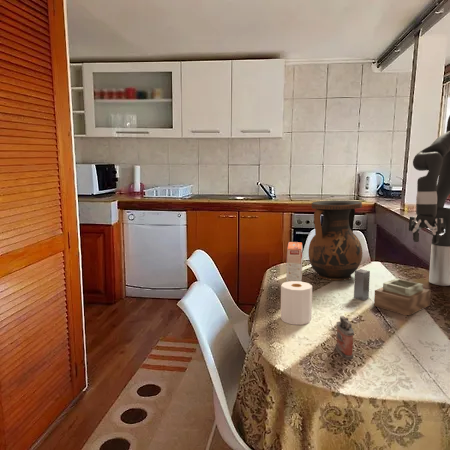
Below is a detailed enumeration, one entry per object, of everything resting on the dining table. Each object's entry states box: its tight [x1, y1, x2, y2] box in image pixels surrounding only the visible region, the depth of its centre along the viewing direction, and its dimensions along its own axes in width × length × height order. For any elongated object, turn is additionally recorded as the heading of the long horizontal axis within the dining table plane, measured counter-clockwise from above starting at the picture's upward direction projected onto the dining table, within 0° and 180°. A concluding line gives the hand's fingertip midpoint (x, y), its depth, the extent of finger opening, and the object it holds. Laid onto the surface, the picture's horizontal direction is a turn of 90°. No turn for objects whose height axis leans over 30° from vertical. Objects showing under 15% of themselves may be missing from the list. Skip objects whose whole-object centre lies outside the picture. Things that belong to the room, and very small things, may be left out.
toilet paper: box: [280, 281, 313, 326], centre depth 137 cm, size 10×10×12 cm
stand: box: [373, 277, 432, 316], centre depth 149 cm, size 16×13×8 cm
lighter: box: [335, 315, 355, 360], centre depth 113 cm, size 8×3×10 cm, turn 5°
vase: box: [307, 199, 363, 282], centre depth 187 cm, size 24×24×35 cm
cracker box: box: [285, 241, 303, 282], centre depth 160 cm, size 14×6×21 cm, turn 168°
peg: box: [353, 268, 371, 301], centre depth 158 cm, size 4×4×11 cm
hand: (425, 242), depth 162 cm, fingers open, 8 cm apart
